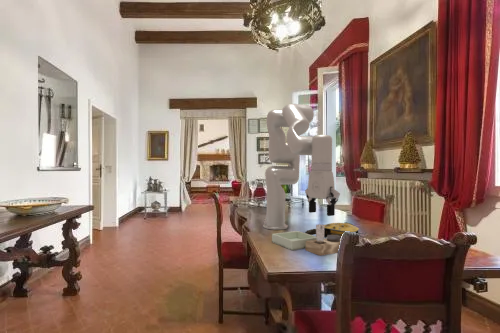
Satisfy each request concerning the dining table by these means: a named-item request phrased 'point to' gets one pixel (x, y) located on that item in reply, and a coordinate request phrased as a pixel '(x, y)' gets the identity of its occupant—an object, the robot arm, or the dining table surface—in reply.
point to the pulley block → (336, 229)
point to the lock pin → (320, 234)
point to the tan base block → (324, 245)
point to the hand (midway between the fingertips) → (321, 213)
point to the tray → (292, 239)
